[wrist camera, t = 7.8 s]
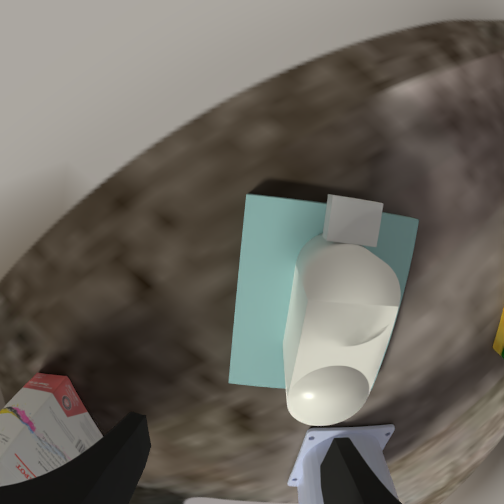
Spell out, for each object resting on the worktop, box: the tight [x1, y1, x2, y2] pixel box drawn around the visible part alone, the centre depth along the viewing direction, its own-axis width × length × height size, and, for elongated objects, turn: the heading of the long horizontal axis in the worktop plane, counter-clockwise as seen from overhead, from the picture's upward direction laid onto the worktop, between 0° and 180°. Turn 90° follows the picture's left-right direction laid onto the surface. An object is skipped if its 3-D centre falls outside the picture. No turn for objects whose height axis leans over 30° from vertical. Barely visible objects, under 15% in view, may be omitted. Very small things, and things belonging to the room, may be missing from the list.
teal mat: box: [229, 194, 419, 390], centre depth 17 cm, size 12×10×1 cm
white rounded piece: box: [282, 194, 401, 426], centre depth 14 cm, size 11×4×5 cm, turn 174°
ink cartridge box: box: [0, 373, 103, 486], centre depth 15 cm, size 9×5×15 cm, turn 10°
